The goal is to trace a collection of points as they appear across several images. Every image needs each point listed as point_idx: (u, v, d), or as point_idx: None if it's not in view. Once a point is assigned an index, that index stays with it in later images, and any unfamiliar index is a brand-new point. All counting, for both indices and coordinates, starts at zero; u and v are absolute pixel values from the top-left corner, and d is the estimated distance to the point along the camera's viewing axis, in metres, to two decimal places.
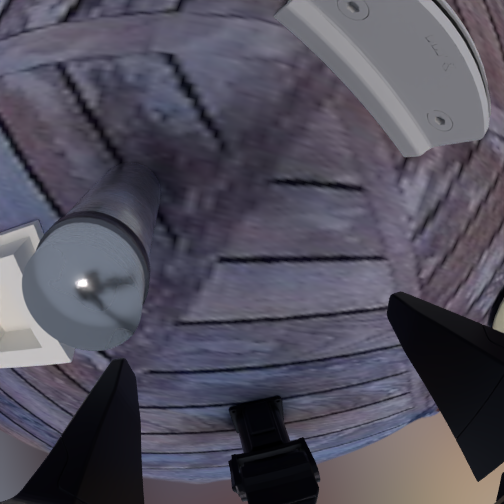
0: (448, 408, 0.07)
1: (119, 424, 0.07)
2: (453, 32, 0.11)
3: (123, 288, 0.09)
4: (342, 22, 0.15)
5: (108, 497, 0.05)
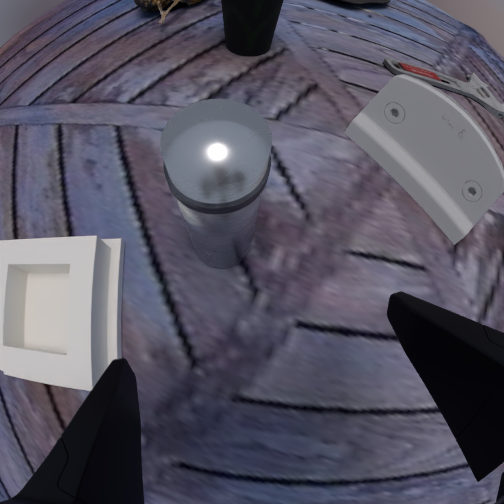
0: (448, 408, 0.07)
1: (119, 424, 0.07)
2: (456, 107, 0.20)
3: (260, 133, 0.12)
4: (390, 128, 0.26)
5: (108, 497, 0.05)
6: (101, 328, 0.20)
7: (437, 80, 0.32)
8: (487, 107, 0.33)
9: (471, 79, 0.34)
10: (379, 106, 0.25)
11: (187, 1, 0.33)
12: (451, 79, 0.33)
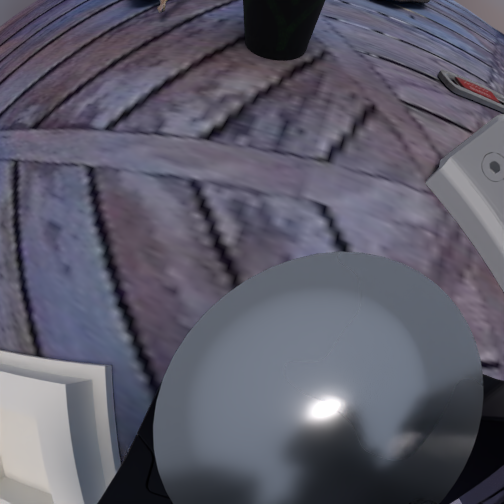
0: None
1: None
2: None
3: (464, 389, 0.03)
4: (484, 186, 0.17)
5: None
6: (97, 490, 0.11)
7: (496, 102, 0.24)
8: None
9: None
10: (476, 154, 0.16)
11: None
12: None
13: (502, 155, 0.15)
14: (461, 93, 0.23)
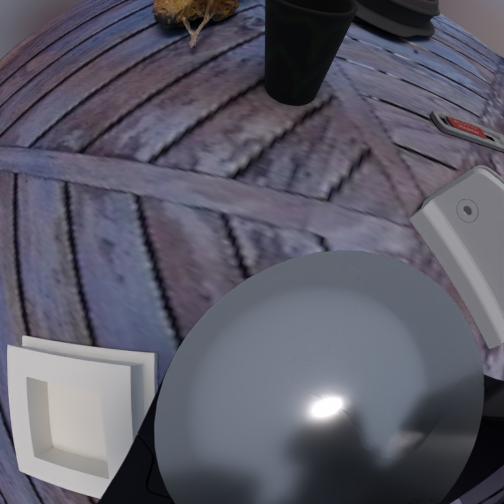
0: None
1: None
2: None
3: (464, 388, 0.03)
4: (458, 225, 0.23)
5: None
6: None
7: (483, 138, 0.29)
8: None
9: None
10: (453, 199, 0.22)
11: (215, 17, 0.31)
12: (495, 135, 0.30)
13: (474, 201, 0.21)
14: (449, 132, 0.29)
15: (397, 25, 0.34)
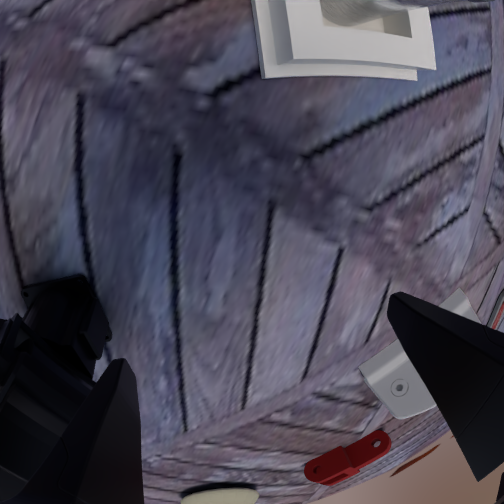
0: (448, 408, 0.07)
1: (119, 424, 0.07)
2: None
3: None
4: None
5: (108, 497, 0.05)
6: (345, 62, 0.16)
7: None
8: None
9: None
10: None
11: None
12: None
13: None
14: (498, 301, 0.36)
15: None
